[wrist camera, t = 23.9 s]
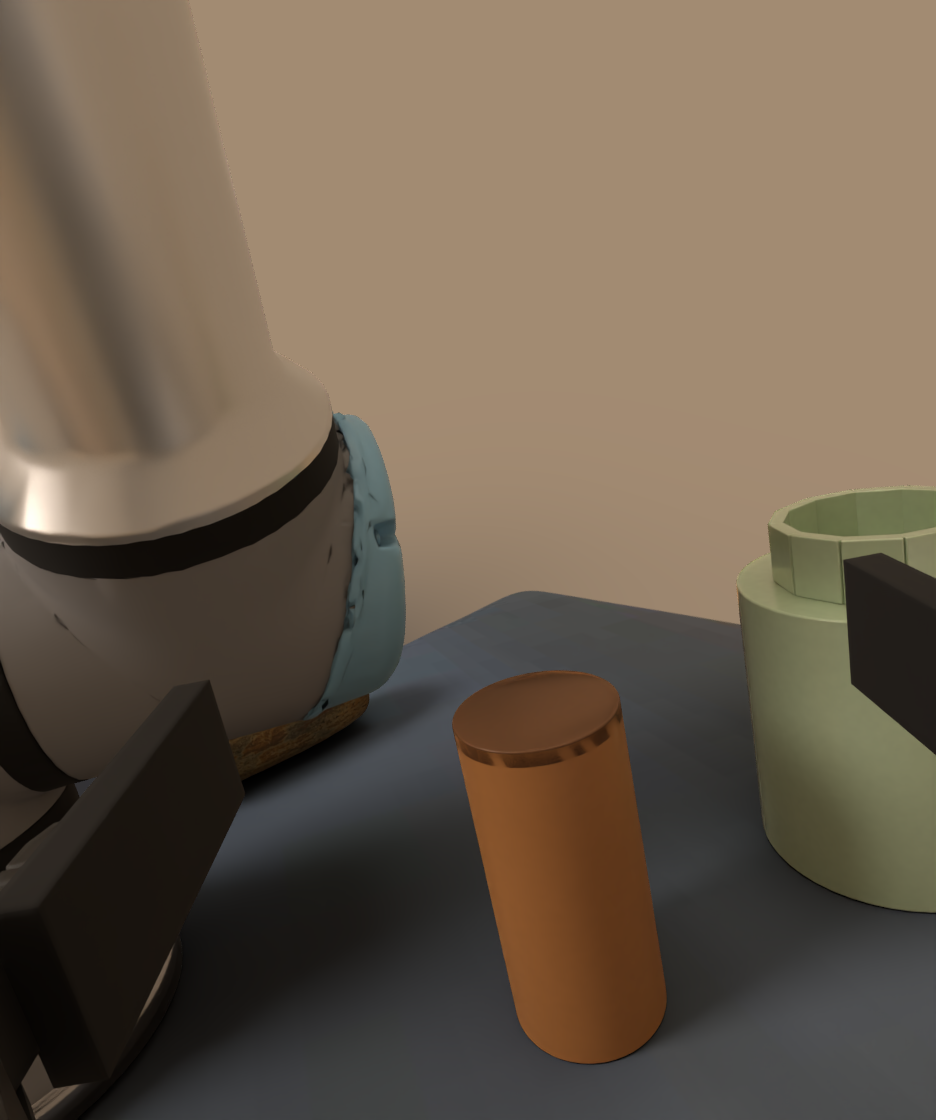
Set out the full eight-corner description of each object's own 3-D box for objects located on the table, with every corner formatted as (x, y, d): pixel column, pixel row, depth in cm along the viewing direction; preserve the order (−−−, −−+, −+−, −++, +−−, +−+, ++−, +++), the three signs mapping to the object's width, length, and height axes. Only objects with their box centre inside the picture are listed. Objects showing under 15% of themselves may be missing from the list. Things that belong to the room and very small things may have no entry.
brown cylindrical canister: (488, 990, 29) (423, 714, 26) (598, 917, 32) (551, 657, 29) (578, 1097, 24) (511, 773, 21) (700, 1001, 27) (656, 699, 24)
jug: (712, 826, 36) (674, 535, 32) (889, 710, 42) (875, 457, 39) (955, 961, 26) (941, 571, 23) (1136, 786, 33) (1148, 460, 29)
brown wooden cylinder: (184, 838, 44) (149, 737, 42) (144, 802, 49) (111, 710, 48) (388, 724, 53) (366, 636, 51) (335, 703, 58) (314, 623, 57)
